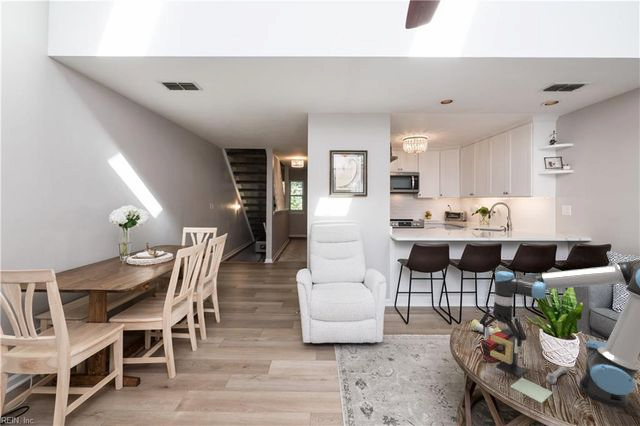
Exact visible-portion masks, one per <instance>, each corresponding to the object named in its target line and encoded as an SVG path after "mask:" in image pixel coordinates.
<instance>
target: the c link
mask: <svg viewBox="0 0 640 426" xmlns="http://www.w3.org/2000/svg"><path fill="white" fill-rule="evenodd" d="M490 336H491V335H490ZM491 340H492V341H495V342H497V343H499V344H502V345H504V346H506V349H505V355H503V354H501V353H498V352H496V351H494V350H492V351H490V356H493V357H495V358H497V359H498V361H499V360H500V361H501V362H502V361H504V362H506V363H508V364H512V363H513V342H510V341H508V340H505V339H503V338H500V337H498V336H495V335H492V336H491Z"/></svg>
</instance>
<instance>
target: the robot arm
mask: <svg viewBox="0 0 640 426" xmlns="http://www.w3.org/2000/svg"><path fill="white" fill-rule="evenodd" d="M494 279H495V280H494V297H493V300H494V302H493V309H492V308H491V307H489V308H487V309H486V312H485V314H484V315H483V317H482V318H481V319H480V321H479V323H480V324H482V325H483V332H482V333H484V339H483V340H488V339H489V336H490V335H489V327H490V326H489V325H490V324H492V323H493V322H495V321H497V322H499V323H503V325H504V324H506V326H507V327H509V328H510V329H511V331H512V332H513V334H514V335H515V337H516V339H515V350H514V353H518V354H519V353H520V352H519V348H521V347H520V346H522V344H523V343H522V341H526V340H527V339H528V338H527V336H526V335H527V334H526V333H525V331H524V329H523V328H524V327H523V326H522V324H521V319H520V317H515V316H513V308H514V307H513V304H514V295H519V296H525V297H529V298H532V299H540V300H545V298H546V293H547V290H552V289H564V288H579V287H592V286H605V285H617V284H618V285H619V284H621V285H622V286H624V287H626V286H627V287H626V289H625V291H626V292H627V293H628V298H627V300H626V303H625V304H624V306H623V308H622V310H621V312H620V314H619V316H618V318H617V320H616V323H615V325H614V326H613V329H612V331H611V334H610V335H609V337H608V339H607V342H606V341H605V342H604V341H600V340H594V339H593V340H592V339H591V340H587V342H586V353H585V354H586V355H585V356H586V358H585V372H584V373H583V375H582V377H581V378H580V380H579V382H578V384H579V386H578V387H579V390H581V392H582V393H584V394H585V395H586V396H587V397H590V398H592V399H593V400H595V401H598V402H599V403H603V404H605V405H607V406H608V405H609V406H612V407H617V408H626V407H627V406H629V405H628V404H629V397H628V395H629V394H631V393H632V392H633V391H634V390H635V381H634V378H635V377H636V375H637V372H638V371H639V369H640V366H639V365H638V364H637V362H636V361H637V358H639V355H640V259H635V260H628V261H622V262H621V261H620V262H615V263H614V264H613V265H607V266H599V267H597V266H596V267H589V268H581V269H579V268H578V269H569V270H563V271H554V272H543V273H532V272H530V273H526V274H525V275H523V276H522V278H518V277H515V274H514V273H513V272H509V271H502V270H500V271H497V272H495V278H494ZM491 314H493V317H491V319H489V317H490V316H491ZM488 319H489V320H488ZM513 322H514V323H513Z"/></svg>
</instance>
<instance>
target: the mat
mask: <svg viewBox="0 0 640 426" xmlns="http://www.w3.org/2000/svg"><path fill="white" fill-rule="evenodd" d="M509 386H510V388H511V389H512V390H515V391H517V392H519V393H521V394H523V395H524V396H527V397H528V398H531V399H532V400H534V401H536V402H538V403H539V404H543V403H544V402H545V401H546V400H547V399H549V397H550V396H552V395H553V394H554V392H553V391H551V390H549V389H547V388H544V387H542V386H540V385H538V384H536V383H535V382H533V381H530V380H528V379H525V378H524V377H520V378H518V380H517V381H515V382H514V383H512V384H511V385H509Z"/></svg>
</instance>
